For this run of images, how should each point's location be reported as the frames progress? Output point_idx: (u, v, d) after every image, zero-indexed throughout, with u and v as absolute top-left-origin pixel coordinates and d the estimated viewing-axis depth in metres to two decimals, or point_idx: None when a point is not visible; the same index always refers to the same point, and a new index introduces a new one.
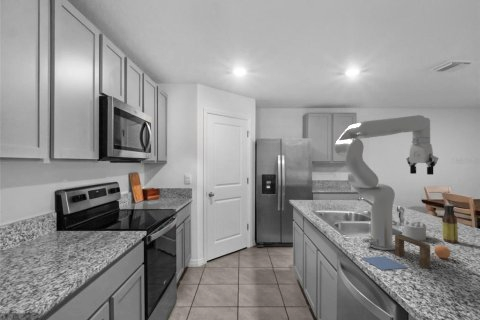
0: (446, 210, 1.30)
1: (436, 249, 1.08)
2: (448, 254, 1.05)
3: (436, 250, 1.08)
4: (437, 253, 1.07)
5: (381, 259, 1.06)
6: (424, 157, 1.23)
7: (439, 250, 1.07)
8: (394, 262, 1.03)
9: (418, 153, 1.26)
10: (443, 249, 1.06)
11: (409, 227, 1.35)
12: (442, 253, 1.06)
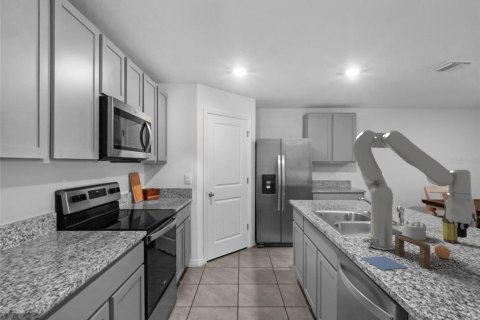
0: None
1: (436, 249, 1.08)
2: (448, 254, 1.05)
3: (436, 250, 1.08)
4: (437, 253, 1.07)
5: (381, 259, 1.06)
6: (466, 217, 1.05)
7: (439, 250, 1.07)
8: (394, 262, 1.03)
9: (458, 211, 1.08)
10: (443, 249, 1.06)
11: (409, 227, 1.35)
12: (442, 253, 1.06)
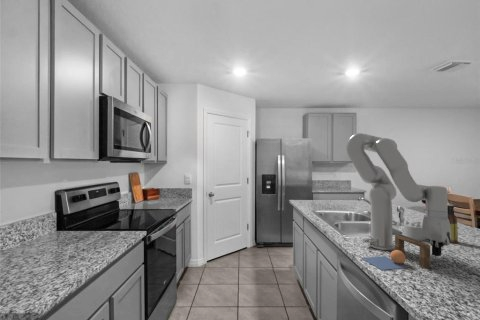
0: None
1: None
2: (403, 259, 1.00)
3: None
4: None
5: (381, 259, 1.06)
6: (440, 236, 1.03)
7: None
8: (394, 262, 1.03)
9: (433, 229, 1.06)
10: (400, 263, 1.01)
11: (409, 227, 1.35)
12: (403, 262, 1.01)
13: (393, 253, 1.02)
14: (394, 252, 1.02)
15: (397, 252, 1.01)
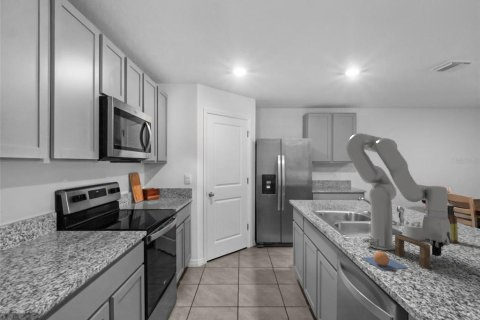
0: None
1: (378, 252, 1.01)
2: (386, 261, 0.98)
3: (378, 252, 1.01)
4: (377, 254, 1.00)
5: None
6: (440, 236, 1.03)
7: (382, 252, 1.00)
8: (394, 262, 1.03)
9: (433, 229, 1.06)
10: (385, 254, 0.99)
11: (409, 227, 1.35)
12: (382, 256, 0.98)
13: None
14: None
15: None
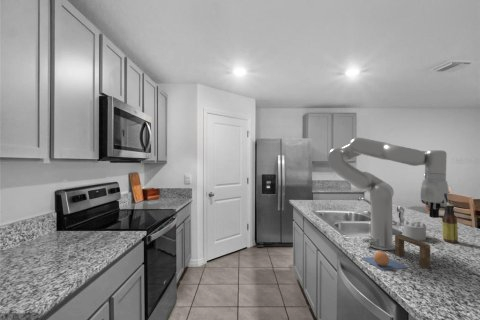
0: (446, 210, 1.30)
1: (378, 252, 1.01)
2: (386, 261, 0.98)
3: (378, 252, 1.01)
4: (377, 254, 1.00)
5: None
6: (438, 197, 1.06)
7: (382, 252, 1.00)
8: (394, 262, 1.03)
9: (431, 191, 1.09)
10: (385, 254, 0.99)
11: (409, 227, 1.35)
12: (382, 256, 0.98)
13: None
14: None
15: None
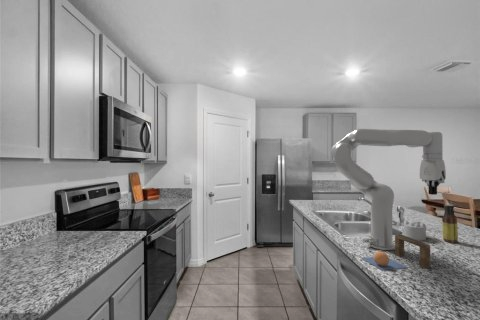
0: (446, 210, 1.30)
1: (378, 252, 1.01)
2: (386, 261, 0.98)
3: (378, 252, 1.01)
4: (377, 254, 1.00)
5: None
6: (436, 174, 1.15)
7: (382, 252, 1.00)
8: (394, 262, 1.03)
9: (429, 170, 1.18)
10: (385, 254, 0.99)
11: (409, 227, 1.35)
12: (382, 256, 0.98)
13: None
14: None
15: None
